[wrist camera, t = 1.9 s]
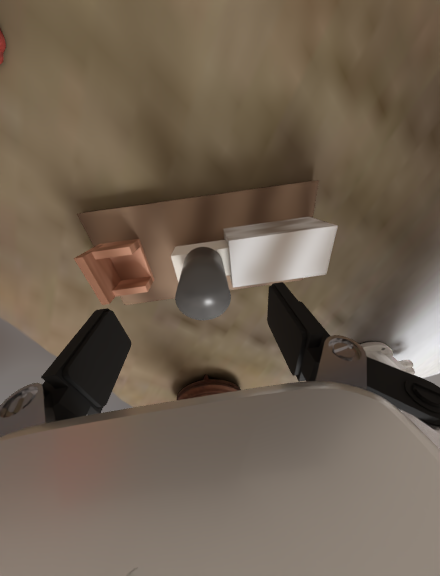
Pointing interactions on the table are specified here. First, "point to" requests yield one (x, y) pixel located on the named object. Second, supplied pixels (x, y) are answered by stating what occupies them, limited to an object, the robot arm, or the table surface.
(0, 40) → the stacking bear
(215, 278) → the white block with knob
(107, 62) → the table surface
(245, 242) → the wooden board
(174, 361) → the table surface
